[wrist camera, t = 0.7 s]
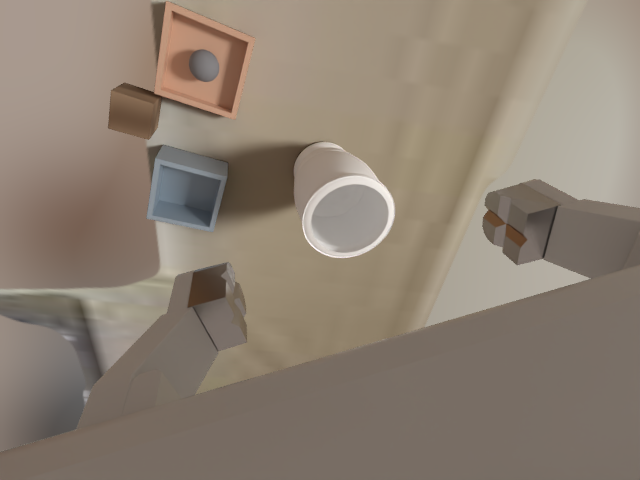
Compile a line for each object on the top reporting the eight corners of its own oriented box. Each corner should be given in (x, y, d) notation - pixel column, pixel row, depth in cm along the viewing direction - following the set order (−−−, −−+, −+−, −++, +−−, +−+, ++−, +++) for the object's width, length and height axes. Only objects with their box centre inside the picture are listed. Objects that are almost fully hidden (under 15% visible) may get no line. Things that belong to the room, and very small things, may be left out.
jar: (276, 191, 50) (289, 249, 37) (300, 123, 45) (323, 163, 33) (341, 208, 53) (371, 266, 41) (368, 147, 49) (413, 191, 36)
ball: (193, 43, 37) (189, 45, 35) (222, 54, 38) (221, 57, 36) (188, 73, 39) (184, 77, 36) (216, 83, 40) (215, 88, 37)
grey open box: (163, 144, 43) (155, 158, 39) (228, 162, 46) (227, 177, 42) (154, 200, 47) (146, 218, 42) (215, 214, 50) (213, 232, 45)
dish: (170, 1, 35) (166, 0, 33) (254, 37, 39) (255, 38, 37) (158, 89, 39) (153, 93, 37) (235, 115, 43) (235, 119, 41)
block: (124, 82, 39) (111, 90, 34) (162, 95, 40) (153, 104, 36) (121, 116, 40) (108, 128, 36) (157, 127, 42) (148, 139, 38)
